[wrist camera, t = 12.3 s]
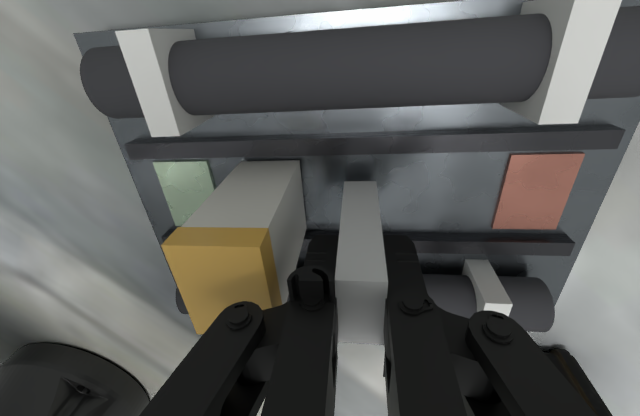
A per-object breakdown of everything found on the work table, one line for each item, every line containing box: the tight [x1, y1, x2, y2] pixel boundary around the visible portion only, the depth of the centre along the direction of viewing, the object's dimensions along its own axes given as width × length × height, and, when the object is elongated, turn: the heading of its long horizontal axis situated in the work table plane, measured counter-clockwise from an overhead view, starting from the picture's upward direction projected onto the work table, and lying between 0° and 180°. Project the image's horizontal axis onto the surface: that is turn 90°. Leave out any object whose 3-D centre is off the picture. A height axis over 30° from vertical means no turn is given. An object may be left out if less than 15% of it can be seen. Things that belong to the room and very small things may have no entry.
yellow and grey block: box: [161, 160, 307, 334], centre depth 13 cm, size 3×4×7 cm
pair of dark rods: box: [80, 0, 640, 332], centre depth 14 cm, size 20×16×3 cm
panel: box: [73, 0, 640, 306], centre depth 16 cm, size 24×16×3 cm, turn 94°
